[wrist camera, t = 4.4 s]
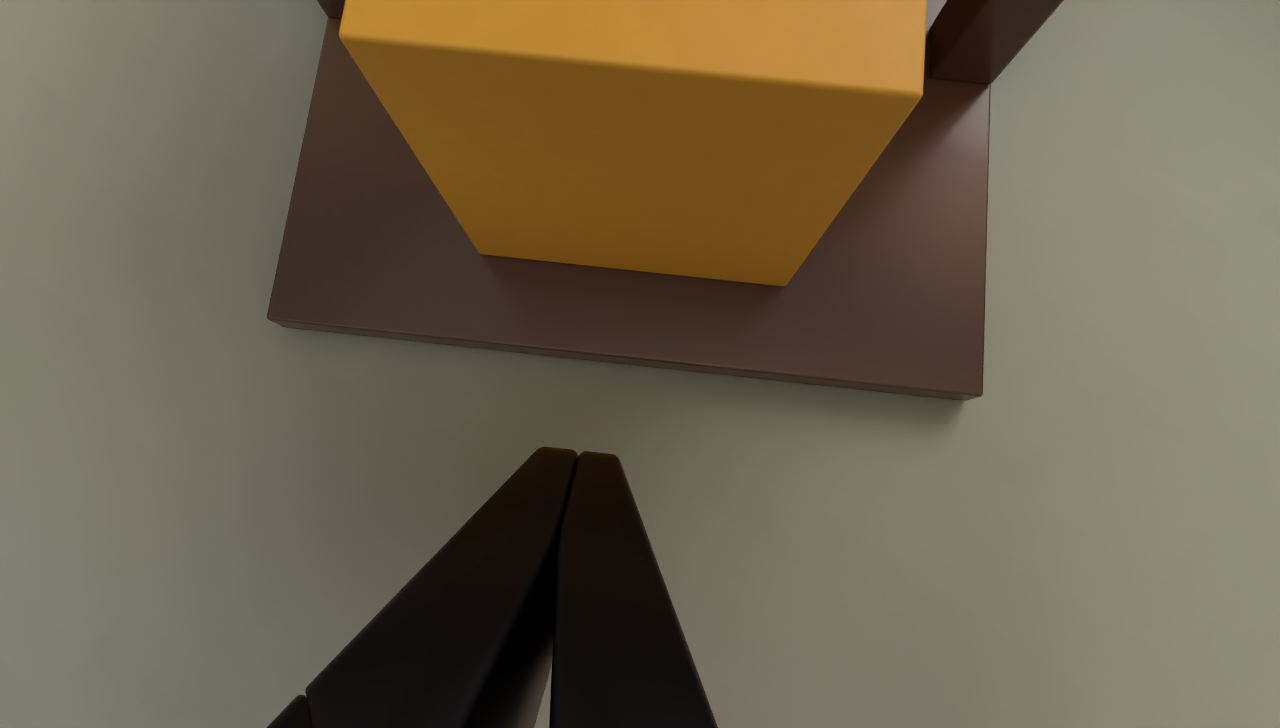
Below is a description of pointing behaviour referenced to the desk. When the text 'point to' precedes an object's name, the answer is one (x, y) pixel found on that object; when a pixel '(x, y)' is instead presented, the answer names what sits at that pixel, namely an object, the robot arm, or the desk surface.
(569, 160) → the box
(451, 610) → the robot arm
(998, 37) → the shelf
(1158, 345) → the desk surface
